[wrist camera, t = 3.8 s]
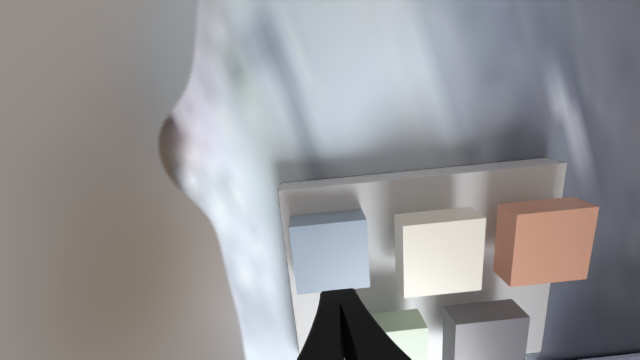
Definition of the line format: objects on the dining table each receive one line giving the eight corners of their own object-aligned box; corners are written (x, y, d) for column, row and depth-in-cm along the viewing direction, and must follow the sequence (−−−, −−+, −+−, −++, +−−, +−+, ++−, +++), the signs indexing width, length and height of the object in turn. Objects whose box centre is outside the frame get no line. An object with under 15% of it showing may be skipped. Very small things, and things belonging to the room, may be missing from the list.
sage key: (417, 308, 17) (427, 327, 16) (417, 363, 18) (427, 386, 17) (348, 315, 17) (352, 335, 16) (352, 370, 18) (356, 393, 17)
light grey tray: (546, 157, 18) (567, 162, 17) (525, 334, 22) (540, 352, 20) (280, 183, 18) (278, 191, 16) (303, 358, 21) (302, 377, 20)
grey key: (511, 298, 17) (530, 317, 16) (506, 354, 19) (523, 376, 17) (443, 305, 17) (455, 325, 16) (442, 361, 18) (453, 383, 17)
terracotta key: (573, 196, 16) (599, 206, 14) (562, 263, 17) (586, 279, 16) (498, 204, 16) (517, 215, 14) (492, 270, 17) (510, 287, 15)
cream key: (469, 206, 16) (486, 218, 14) (466, 273, 17) (481, 290, 15) (394, 214, 16) (402, 226, 14) (395, 280, 17) (404, 298, 15)
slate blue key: (361, 209, 17) (366, 219, 15) (365, 271, 18) (370, 287, 16) (290, 215, 17) (288, 227, 15) (298, 278, 18) (297, 294, 16)
